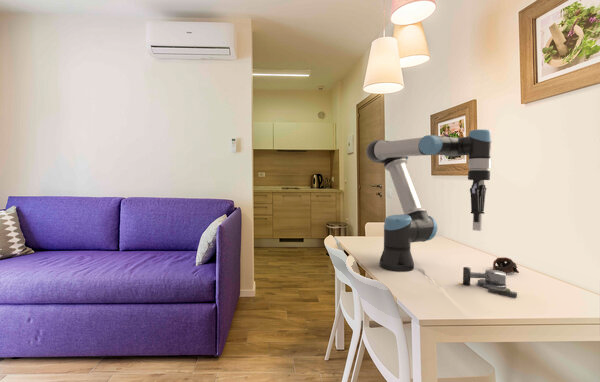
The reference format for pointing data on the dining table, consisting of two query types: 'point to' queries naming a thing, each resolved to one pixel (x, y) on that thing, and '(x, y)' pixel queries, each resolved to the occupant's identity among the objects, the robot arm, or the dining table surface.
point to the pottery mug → (504, 265)
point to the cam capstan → (486, 278)
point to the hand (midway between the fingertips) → (476, 230)
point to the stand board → (500, 291)
